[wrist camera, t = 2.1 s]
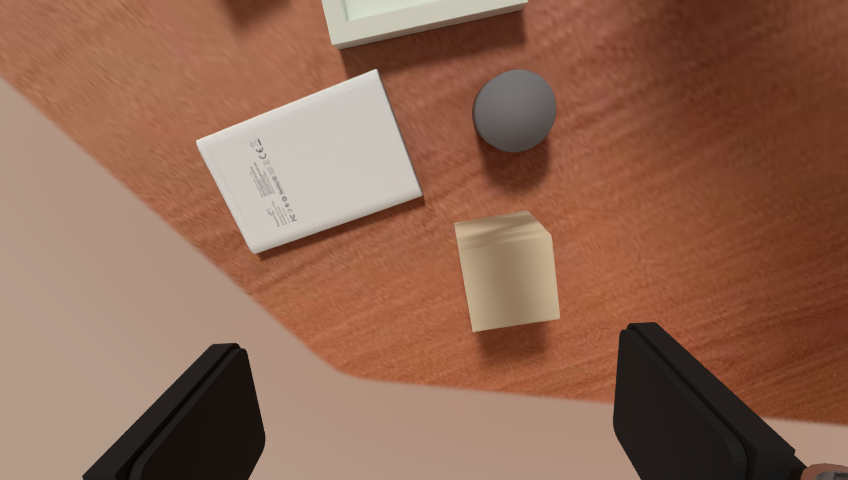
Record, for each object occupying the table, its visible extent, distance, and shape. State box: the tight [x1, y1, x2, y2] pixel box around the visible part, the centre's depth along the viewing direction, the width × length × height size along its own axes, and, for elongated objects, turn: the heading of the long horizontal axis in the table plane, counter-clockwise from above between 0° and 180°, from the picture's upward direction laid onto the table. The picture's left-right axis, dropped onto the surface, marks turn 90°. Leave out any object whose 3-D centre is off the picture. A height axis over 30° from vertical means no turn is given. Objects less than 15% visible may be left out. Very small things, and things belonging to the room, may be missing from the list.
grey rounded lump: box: [472, 70, 556, 152], centre depth 24 cm, size 4×4×3 cm
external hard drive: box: [196, 69, 423, 254], centre depth 27 cm, size 2×8×12 cm
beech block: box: [454, 210, 560, 332], centre depth 25 cm, size 5×5×6 cm
